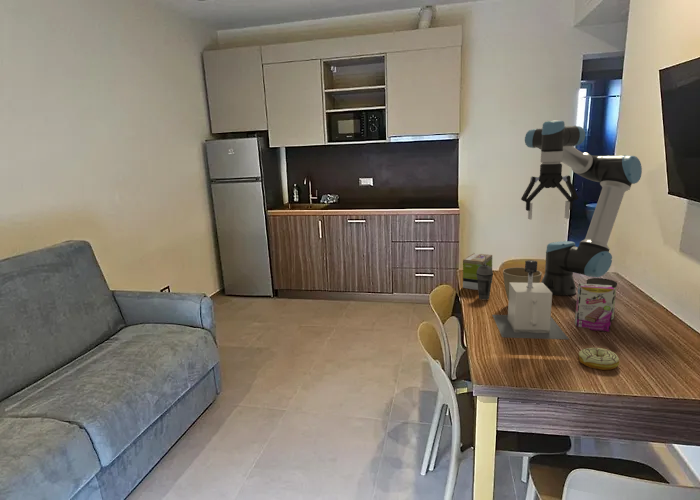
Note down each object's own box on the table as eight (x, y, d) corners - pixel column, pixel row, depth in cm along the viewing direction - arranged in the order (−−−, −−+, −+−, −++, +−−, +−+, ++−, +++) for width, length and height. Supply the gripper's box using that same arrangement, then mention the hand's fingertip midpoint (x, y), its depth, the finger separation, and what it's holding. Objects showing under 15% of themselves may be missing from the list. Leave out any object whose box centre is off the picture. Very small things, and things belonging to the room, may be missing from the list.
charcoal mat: (550, 318, 169) (550, 315, 169) (569, 342, 148) (569, 339, 148) (492, 316, 173) (492, 314, 172) (502, 339, 152) (502, 337, 151)
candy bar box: (576, 329, 158) (579, 286, 155) (574, 324, 163) (577, 282, 159) (611, 332, 154) (615, 288, 151) (607, 327, 159) (612, 284, 156)
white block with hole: (540, 320, 165) (542, 282, 162) (551, 336, 151) (554, 295, 147) (507, 319, 167) (509, 282, 164) (515, 335, 153) (517, 294, 149)
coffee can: (583, 310, 177) (585, 276, 174) (612, 313, 172) (615, 279, 169) (584, 318, 168) (587, 284, 165) (615, 322, 163) (619, 286, 160)
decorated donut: (575, 354, 140) (576, 343, 139) (613, 358, 136) (614, 347, 135) (581, 369, 130) (582, 357, 129) (622, 374, 126) (623, 362, 126)
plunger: (538, 319, 164) (541, 258, 159) (545, 328, 154) (549, 264, 149) (511, 318, 165) (514, 258, 160) (517, 328, 156) (520, 264, 151)
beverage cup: (490, 295, 198) (492, 253, 194) (494, 301, 191) (495, 257, 187) (474, 295, 199) (475, 253, 194) (477, 301, 192) (478, 257, 187)
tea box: (473, 280, 223) (473, 252, 219) (492, 283, 217) (493, 254, 214) (462, 288, 211) (462, 258, 208) (482, 291, 205) (483, 261, 202)
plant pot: (546, 312, 175) (549, 274, 172) (512, 316, 173) (514, 277, 169) (526, 301, 190) (528, 265, 186) (494, 303, 187) (496, 268, 184)
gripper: (582, 161, 165) (578, 216, 170) (514, 164, 169) (512, 217, 174) (590, 162, 158) (586, 219, 163) (519, 164, 162) (516, 220, 167)
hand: (548, 218), depth 168 cm, fingers open, 13 cm apart
